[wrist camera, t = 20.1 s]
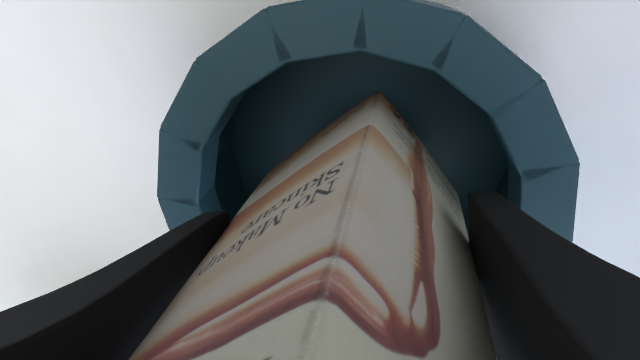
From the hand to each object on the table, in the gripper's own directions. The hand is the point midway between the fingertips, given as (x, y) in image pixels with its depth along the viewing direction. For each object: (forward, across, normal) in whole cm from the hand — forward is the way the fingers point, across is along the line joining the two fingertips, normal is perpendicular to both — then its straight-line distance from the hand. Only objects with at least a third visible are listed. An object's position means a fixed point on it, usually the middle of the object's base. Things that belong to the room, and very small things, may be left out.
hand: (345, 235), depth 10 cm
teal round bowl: (+6, 0, 0) cm, 6 cm away
